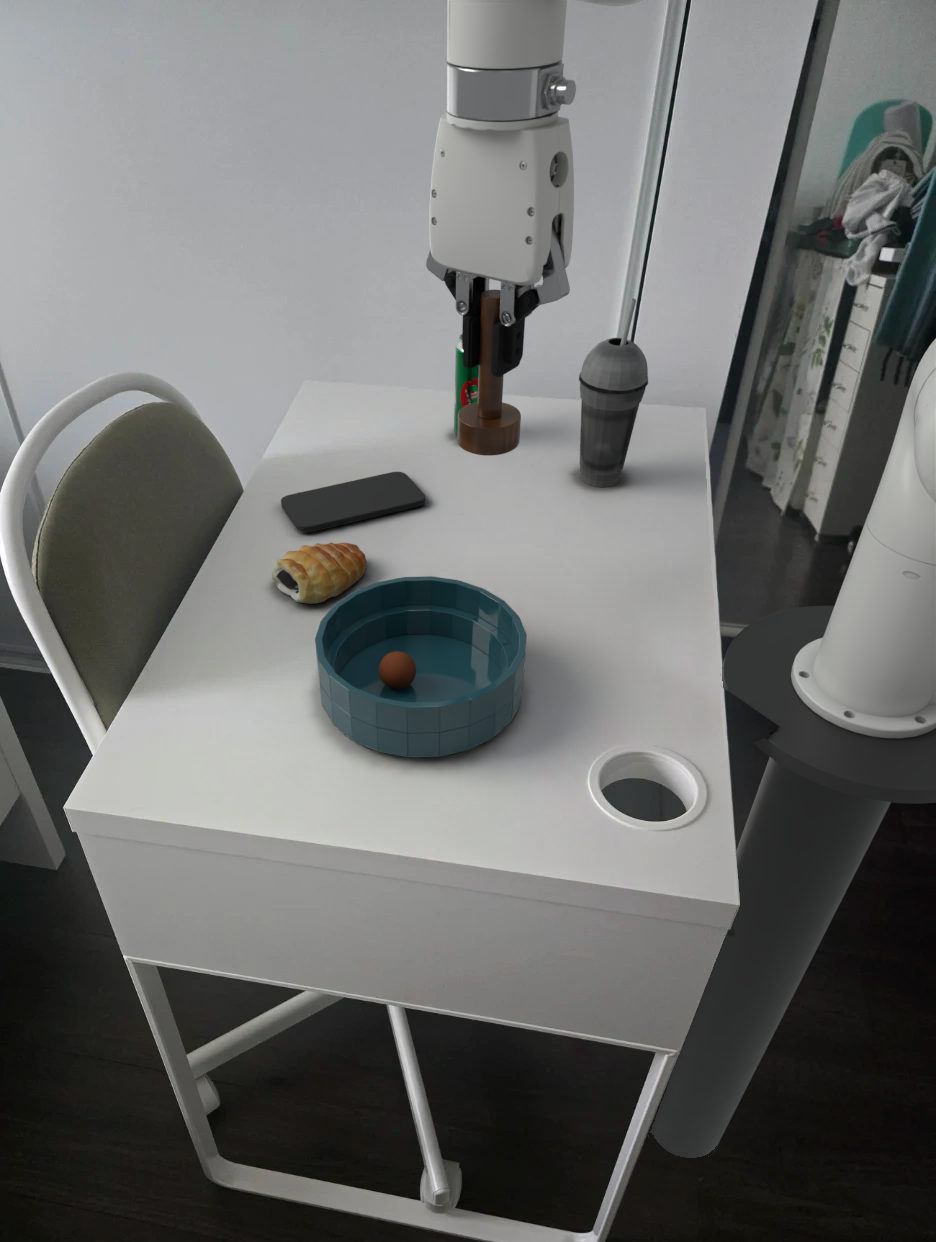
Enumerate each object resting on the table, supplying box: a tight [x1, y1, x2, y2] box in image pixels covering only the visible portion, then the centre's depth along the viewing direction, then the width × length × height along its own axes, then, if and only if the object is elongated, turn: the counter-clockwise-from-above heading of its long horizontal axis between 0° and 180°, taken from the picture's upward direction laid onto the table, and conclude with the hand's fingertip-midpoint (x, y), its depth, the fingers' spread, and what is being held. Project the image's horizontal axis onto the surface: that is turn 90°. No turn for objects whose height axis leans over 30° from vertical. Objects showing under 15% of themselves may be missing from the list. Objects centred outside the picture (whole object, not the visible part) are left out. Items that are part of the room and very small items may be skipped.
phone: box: [280, 471, 426, 533], centre depth 104 cm, size 7×1×15 cm
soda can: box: [453, 333, 479, 438], centre depth 112 cm, size 5×5×12 cm
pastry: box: [271, 541, 368, 605], centre depth 92 cm, size 9×7×4 cm
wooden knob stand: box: [457, 289, 522, 457], centre depth 75 cm, size 5×5×12 cm
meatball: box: [379, 651, 416, 689], centre depth 80 cm, size 3×3×3 cm
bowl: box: [314, 575, 528, 758], centre depth 79 cm, size 17×17×6 cm
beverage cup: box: [578, 297, 649, 488], centre depth 101 cm, size 7×7×20 cm
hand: (491, 364), depth 75 cm, fingers closed on wooden knob stand
